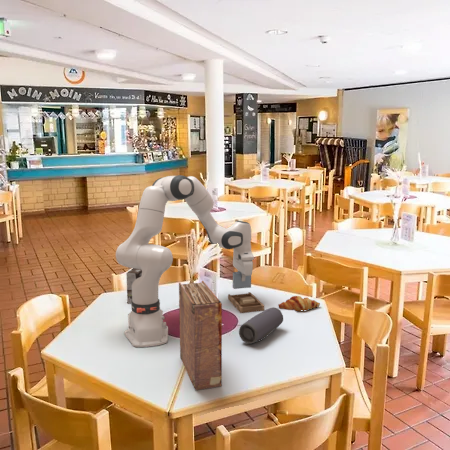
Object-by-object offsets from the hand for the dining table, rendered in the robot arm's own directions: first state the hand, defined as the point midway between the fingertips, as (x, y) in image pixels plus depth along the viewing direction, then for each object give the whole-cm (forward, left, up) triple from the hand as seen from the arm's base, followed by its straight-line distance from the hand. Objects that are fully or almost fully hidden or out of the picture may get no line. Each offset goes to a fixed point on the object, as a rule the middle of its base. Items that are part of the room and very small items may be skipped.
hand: (241, 279), depth 234 cm
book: (-62, +37, -12) cm, 73 cm away
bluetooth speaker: (-41, +5, -12) cm, 43 cm away
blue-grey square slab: (0, 0, -4) cm, 4 cm away
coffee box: (+18, +51, -12) cm, 55 cm away
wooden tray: (-6, 0, -12) cm, 13 cm away
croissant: (-16, -24, -13) cm, 32 cm away
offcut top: (-8, 0, -9) cm, 12 cm away
